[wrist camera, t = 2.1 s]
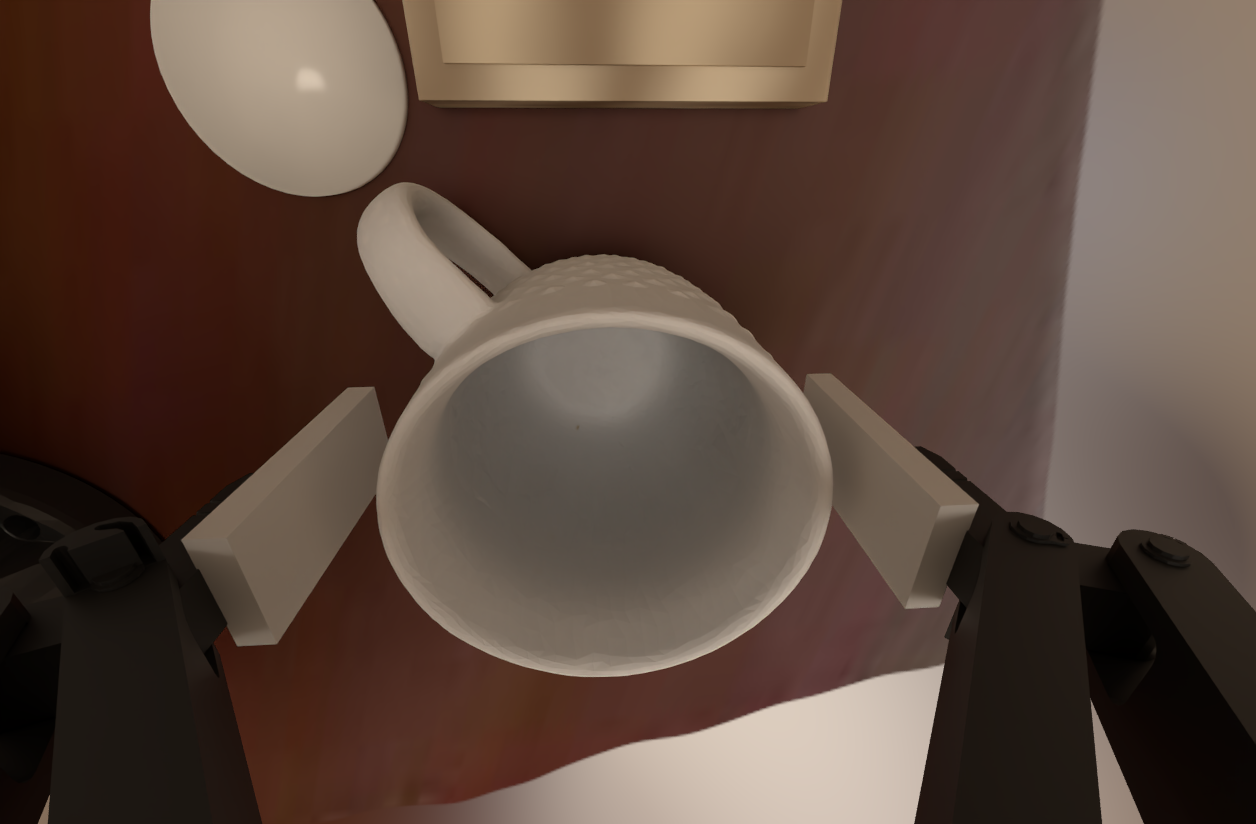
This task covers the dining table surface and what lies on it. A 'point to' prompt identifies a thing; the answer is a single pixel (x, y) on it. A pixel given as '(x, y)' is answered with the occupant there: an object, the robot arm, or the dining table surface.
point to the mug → (585, 452)
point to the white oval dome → (287, 87)
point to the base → (622, 53)
